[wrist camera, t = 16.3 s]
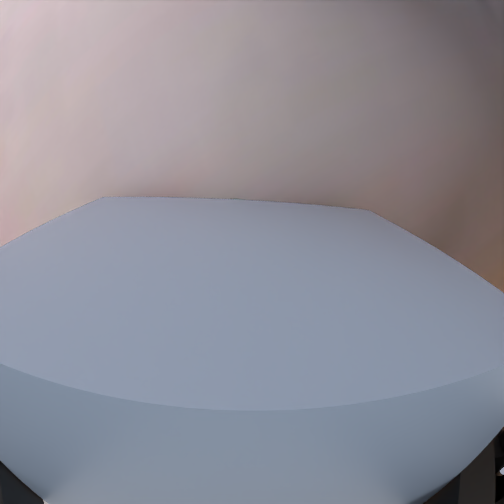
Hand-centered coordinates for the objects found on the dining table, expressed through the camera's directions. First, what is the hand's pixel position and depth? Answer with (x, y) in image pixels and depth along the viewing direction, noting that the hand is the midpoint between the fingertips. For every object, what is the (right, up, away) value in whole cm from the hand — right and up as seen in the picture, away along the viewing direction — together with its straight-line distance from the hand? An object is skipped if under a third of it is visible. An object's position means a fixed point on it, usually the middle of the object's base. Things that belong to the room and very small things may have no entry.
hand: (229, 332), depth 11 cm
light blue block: (0, 0, +1) cm, 1 cm away
